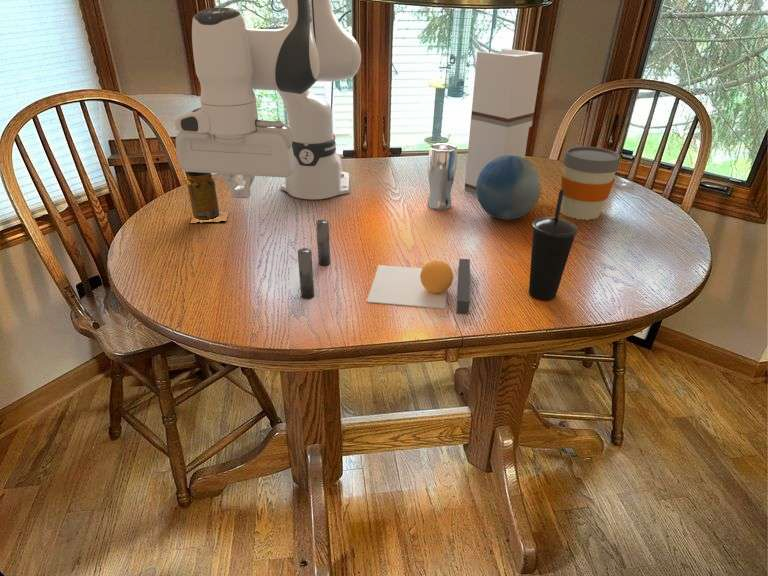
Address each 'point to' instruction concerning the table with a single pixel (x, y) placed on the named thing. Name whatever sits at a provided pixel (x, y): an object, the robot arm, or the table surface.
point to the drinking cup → (550, 253)
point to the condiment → (203, 195)
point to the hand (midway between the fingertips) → (241, 197)
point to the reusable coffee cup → (587, 180)
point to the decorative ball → (508, 187)
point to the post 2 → (323, 242)
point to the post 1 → (306, 273)
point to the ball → (436, 276)
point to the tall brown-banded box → (501, 108)
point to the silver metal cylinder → (441, 175)
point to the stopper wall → (463, 286)
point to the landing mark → (403, 288)
